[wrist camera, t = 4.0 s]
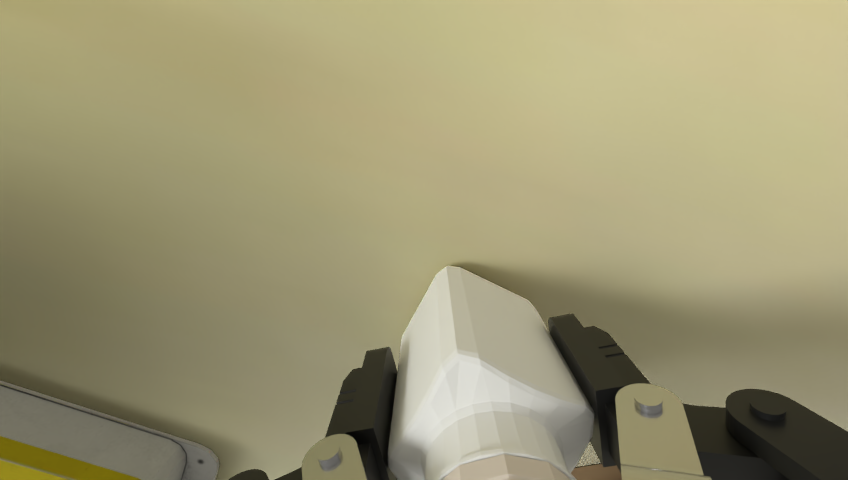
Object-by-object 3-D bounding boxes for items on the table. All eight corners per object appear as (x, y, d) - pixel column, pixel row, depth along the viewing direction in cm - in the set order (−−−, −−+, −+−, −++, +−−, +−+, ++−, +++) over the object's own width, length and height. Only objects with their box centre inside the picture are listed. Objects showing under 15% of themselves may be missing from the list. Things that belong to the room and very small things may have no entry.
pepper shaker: (395, 340, 15) (348, 668, 6) (443, 254, 14) (471, 496, 5) (485, 380, 16) (565, 737, 7) (538, 299, 15) (718, 594, 6)
